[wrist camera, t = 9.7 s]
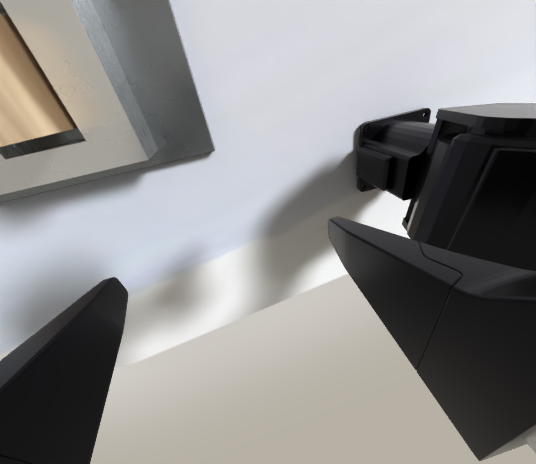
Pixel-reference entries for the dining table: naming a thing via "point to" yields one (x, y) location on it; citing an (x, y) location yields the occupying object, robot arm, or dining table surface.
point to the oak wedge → (26, 92)
